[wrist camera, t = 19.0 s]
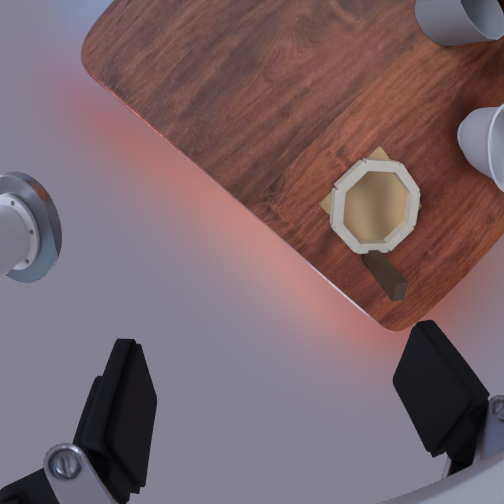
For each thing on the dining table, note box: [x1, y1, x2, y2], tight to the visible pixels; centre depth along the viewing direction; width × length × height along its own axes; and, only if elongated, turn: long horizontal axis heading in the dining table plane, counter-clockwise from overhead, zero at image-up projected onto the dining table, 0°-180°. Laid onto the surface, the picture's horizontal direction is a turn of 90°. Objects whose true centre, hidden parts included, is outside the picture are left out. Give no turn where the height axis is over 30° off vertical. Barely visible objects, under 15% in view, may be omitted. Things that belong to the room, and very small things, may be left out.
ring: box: [330, 158, 420, 301], centre depth 34 cm, size 14×12×10 cm
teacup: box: [458, 104, 504, 192], centre depth 30 cm, size 12×15×10 cm
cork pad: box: [318, 146, 422, 240], centre depth 38 cm, size 11×11×1 cm
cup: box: [414, 0, 504, 46], centre depth 22 cm, size 8×8×10 cm
